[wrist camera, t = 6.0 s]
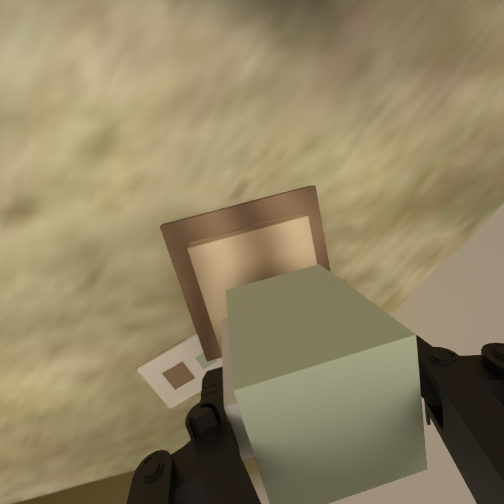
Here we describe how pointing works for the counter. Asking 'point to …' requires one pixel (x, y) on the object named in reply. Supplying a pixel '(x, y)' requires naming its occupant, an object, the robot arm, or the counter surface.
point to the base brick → (242, 253)
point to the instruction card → (178, 371)
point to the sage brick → (324, 387)
